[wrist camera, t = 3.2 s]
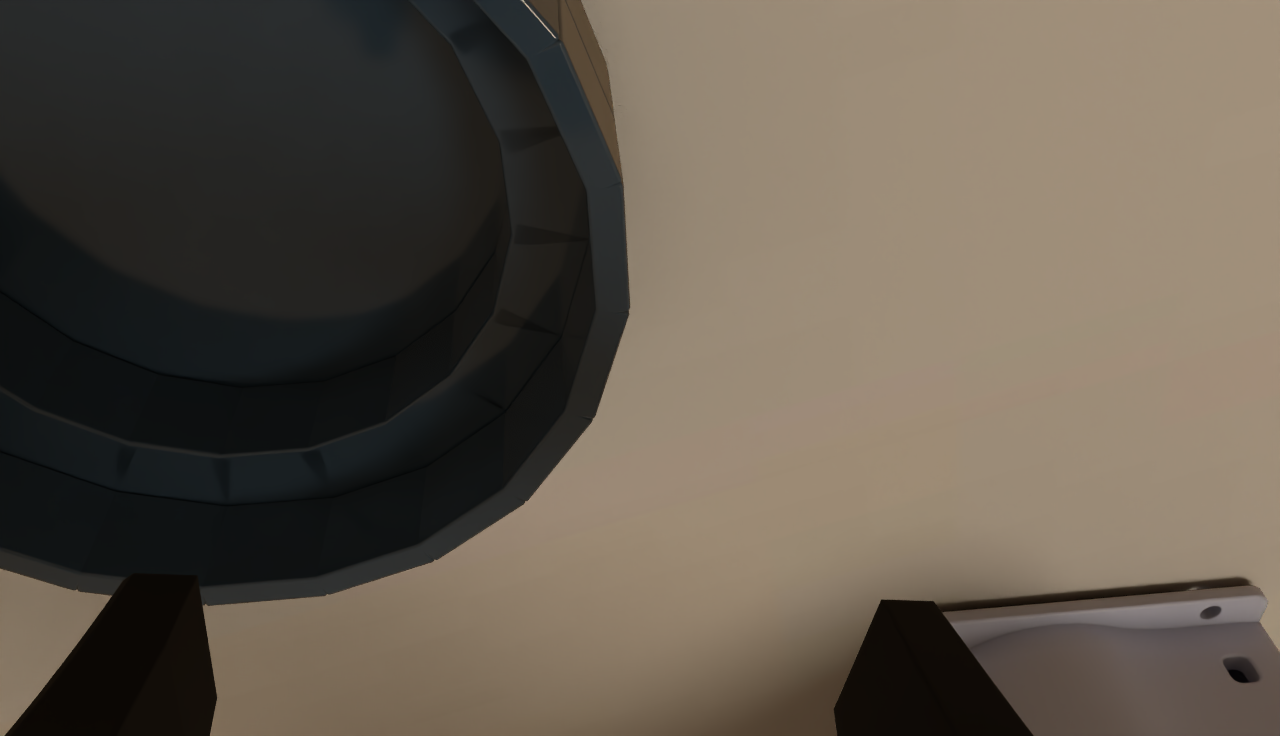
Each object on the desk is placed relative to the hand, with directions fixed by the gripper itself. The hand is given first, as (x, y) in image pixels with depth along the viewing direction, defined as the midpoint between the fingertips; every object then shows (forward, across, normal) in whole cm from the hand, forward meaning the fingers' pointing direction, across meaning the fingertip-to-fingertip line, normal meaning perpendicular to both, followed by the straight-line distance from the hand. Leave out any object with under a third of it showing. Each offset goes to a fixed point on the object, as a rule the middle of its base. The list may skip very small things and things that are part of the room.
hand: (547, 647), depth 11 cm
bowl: (+10, +5, -1) cm, 11 cm away
